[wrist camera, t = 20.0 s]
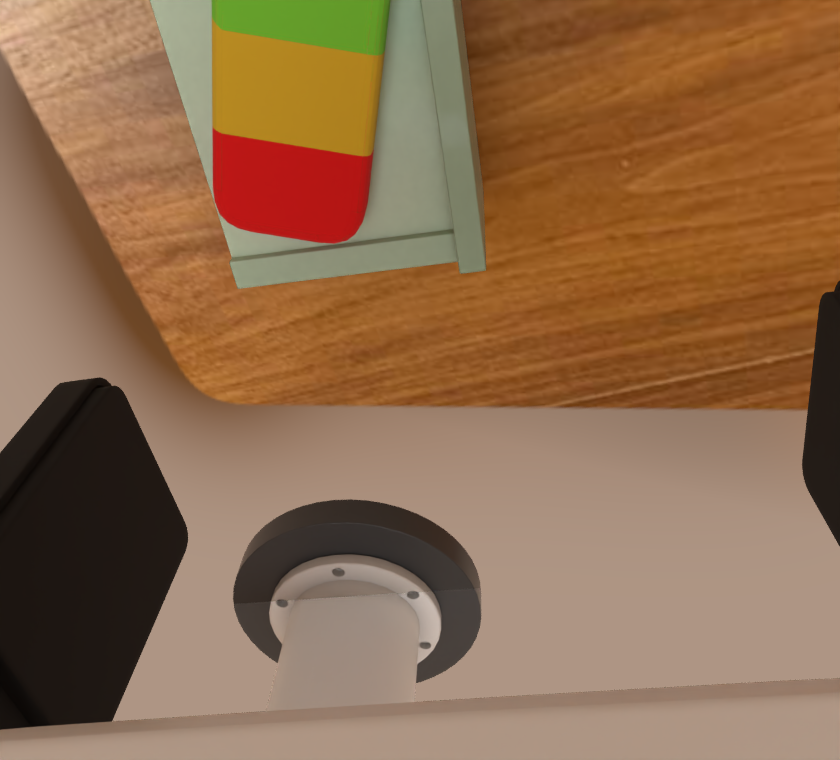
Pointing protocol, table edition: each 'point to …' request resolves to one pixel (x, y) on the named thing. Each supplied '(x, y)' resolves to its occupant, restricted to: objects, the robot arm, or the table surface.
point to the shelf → (392, 158)
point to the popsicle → (296, 113)
